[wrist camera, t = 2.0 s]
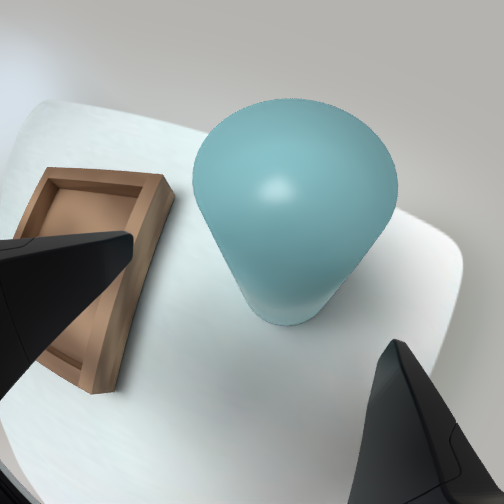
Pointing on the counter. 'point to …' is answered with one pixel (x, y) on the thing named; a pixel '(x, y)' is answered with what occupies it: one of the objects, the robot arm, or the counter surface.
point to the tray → (127, 282)
